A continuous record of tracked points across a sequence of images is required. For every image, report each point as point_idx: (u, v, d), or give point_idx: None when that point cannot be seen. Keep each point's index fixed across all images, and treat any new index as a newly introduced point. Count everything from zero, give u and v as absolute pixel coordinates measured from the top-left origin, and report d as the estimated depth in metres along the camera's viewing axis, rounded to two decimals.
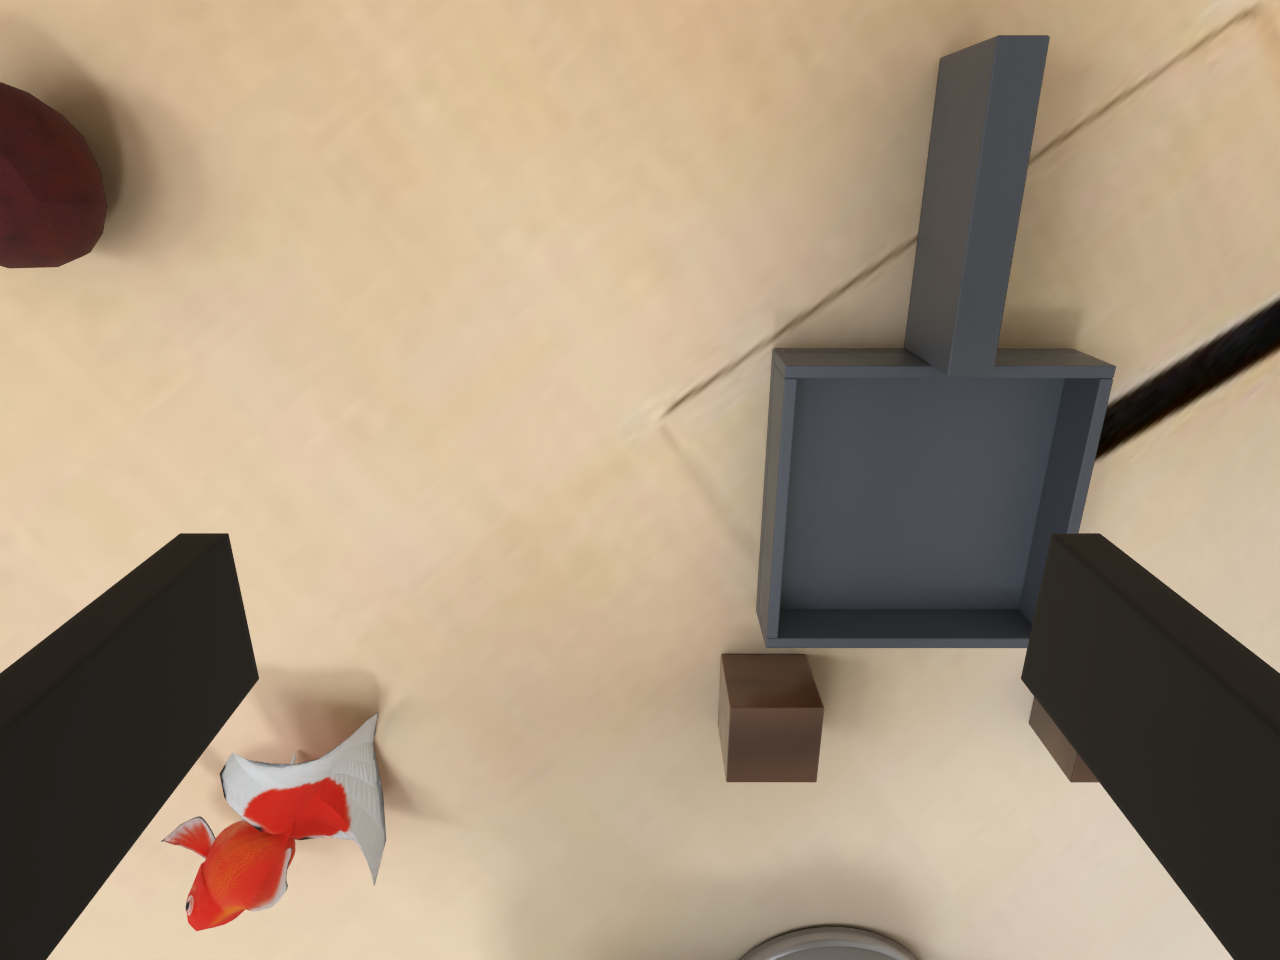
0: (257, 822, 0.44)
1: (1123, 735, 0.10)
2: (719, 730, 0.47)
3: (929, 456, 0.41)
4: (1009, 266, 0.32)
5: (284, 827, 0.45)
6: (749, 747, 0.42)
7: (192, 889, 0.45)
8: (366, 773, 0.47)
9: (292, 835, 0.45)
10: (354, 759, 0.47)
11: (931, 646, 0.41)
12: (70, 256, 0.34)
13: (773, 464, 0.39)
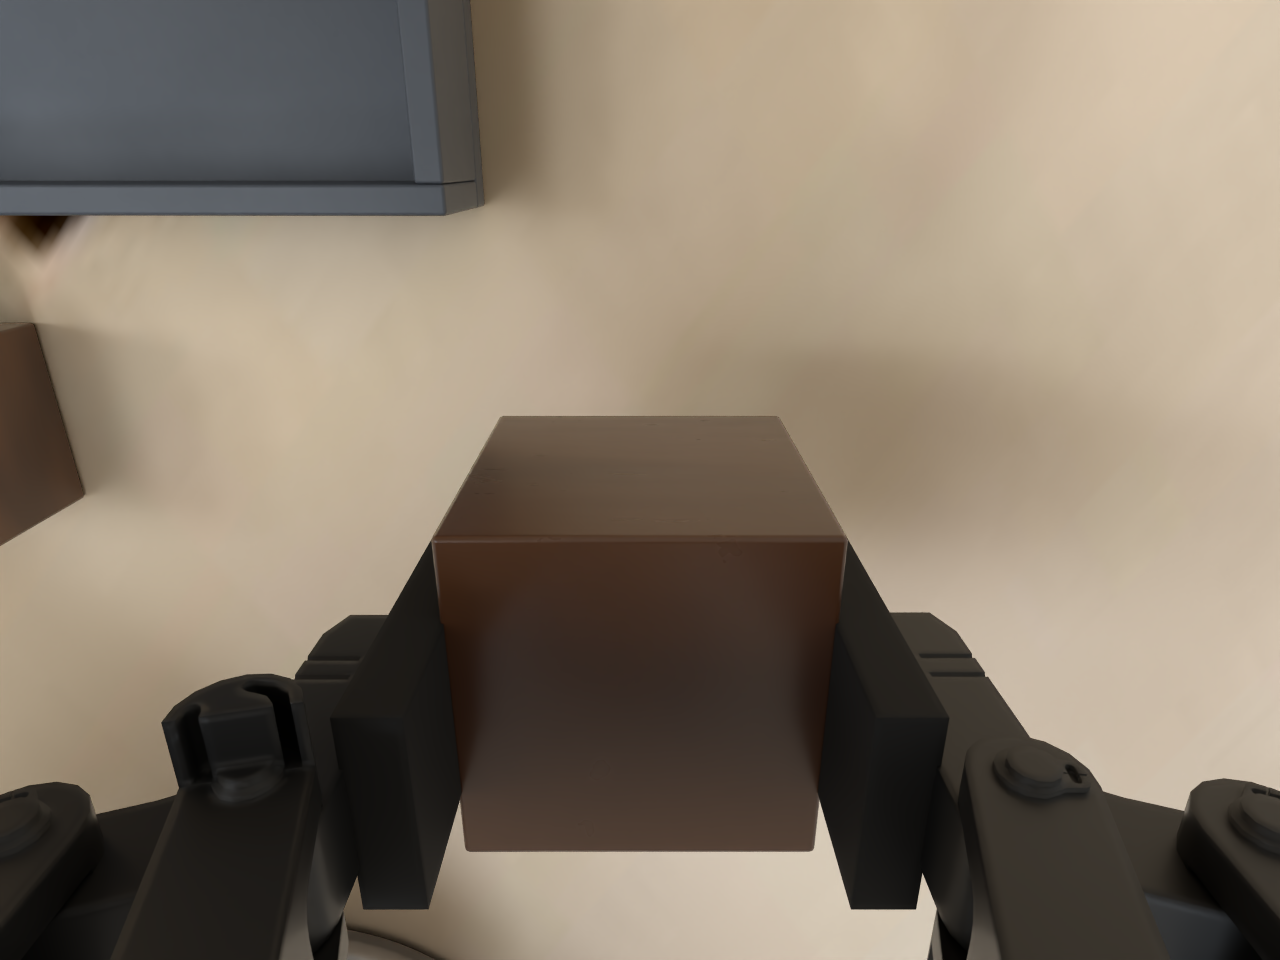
0: None
1: None
2: None
3: None
4: None
5: None
6: None
7: None
8: None
9: None
10: None
11: (128, 209, 0.16)
12: None
13: None
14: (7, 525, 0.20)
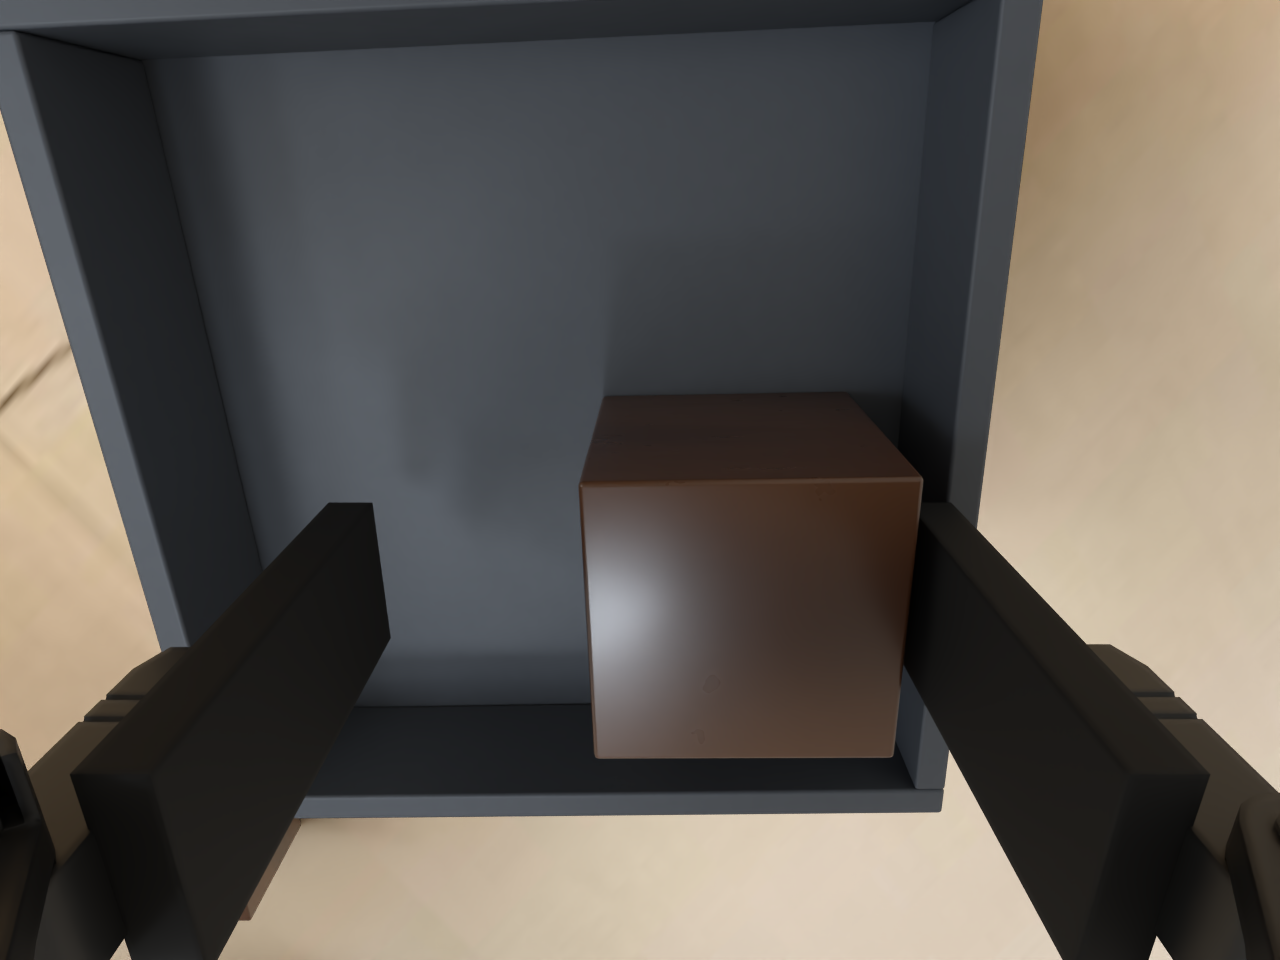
0: None
1: (949, 679, 0.12)
2: None
3: (591, 317, 0.15)
4: None
5: None
6: None
7: None
8: None
9: None
10: None
11: (625, 812, 0.16)
12: None
13: None
14: (273, 867, 0.33)
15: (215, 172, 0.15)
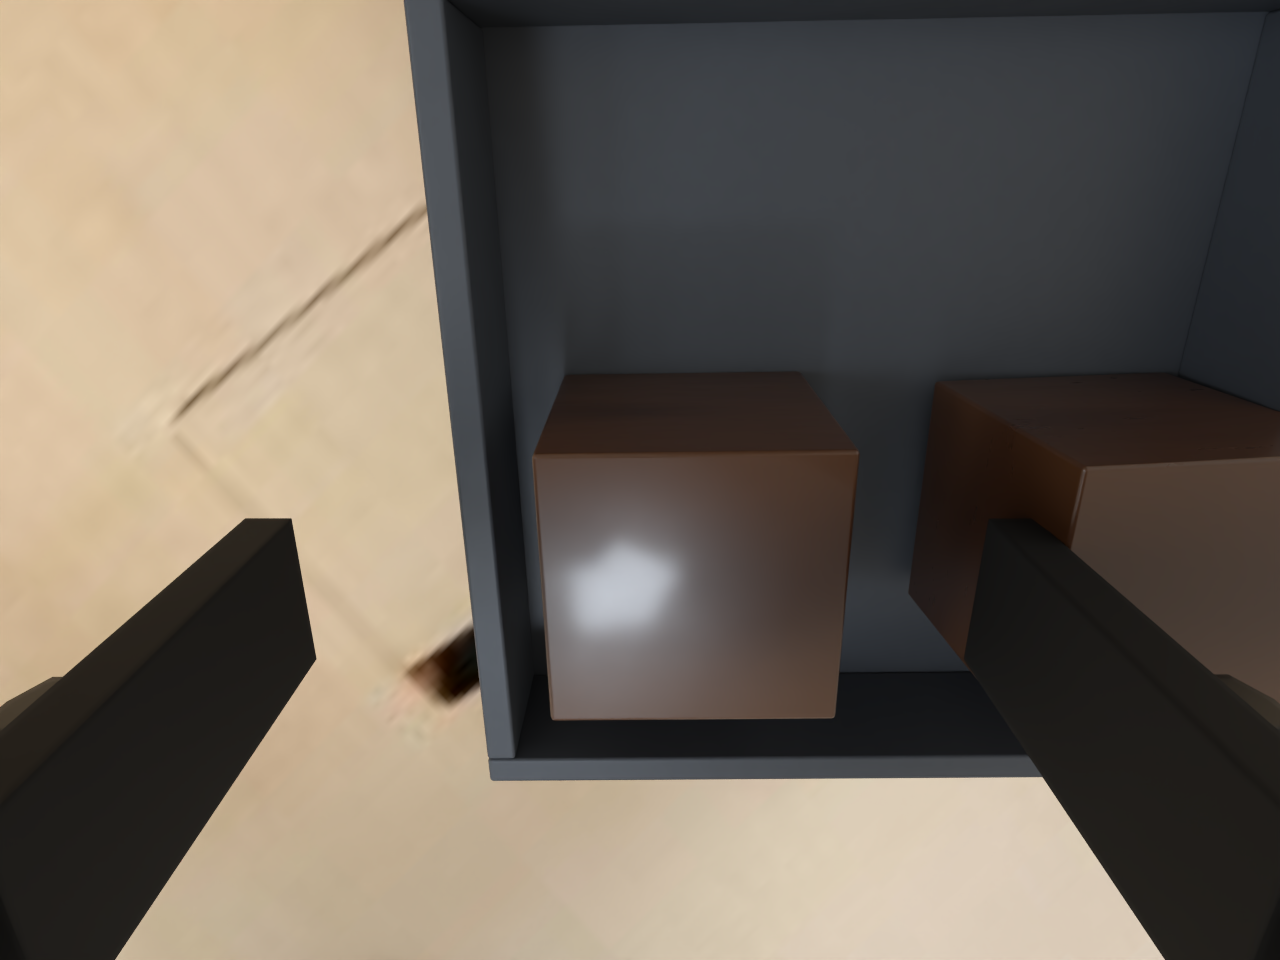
0: None
1: (1046, 708, 0.11)
2: None
3: (887, 294, 0.16)
4: None
5: None
6: (613, 600, 0.13)
7: None
8: None
9: None
10: None
11: (899, 774, 0.17)
12: None
13: None
14: None
15: (537, 142, 0.15)
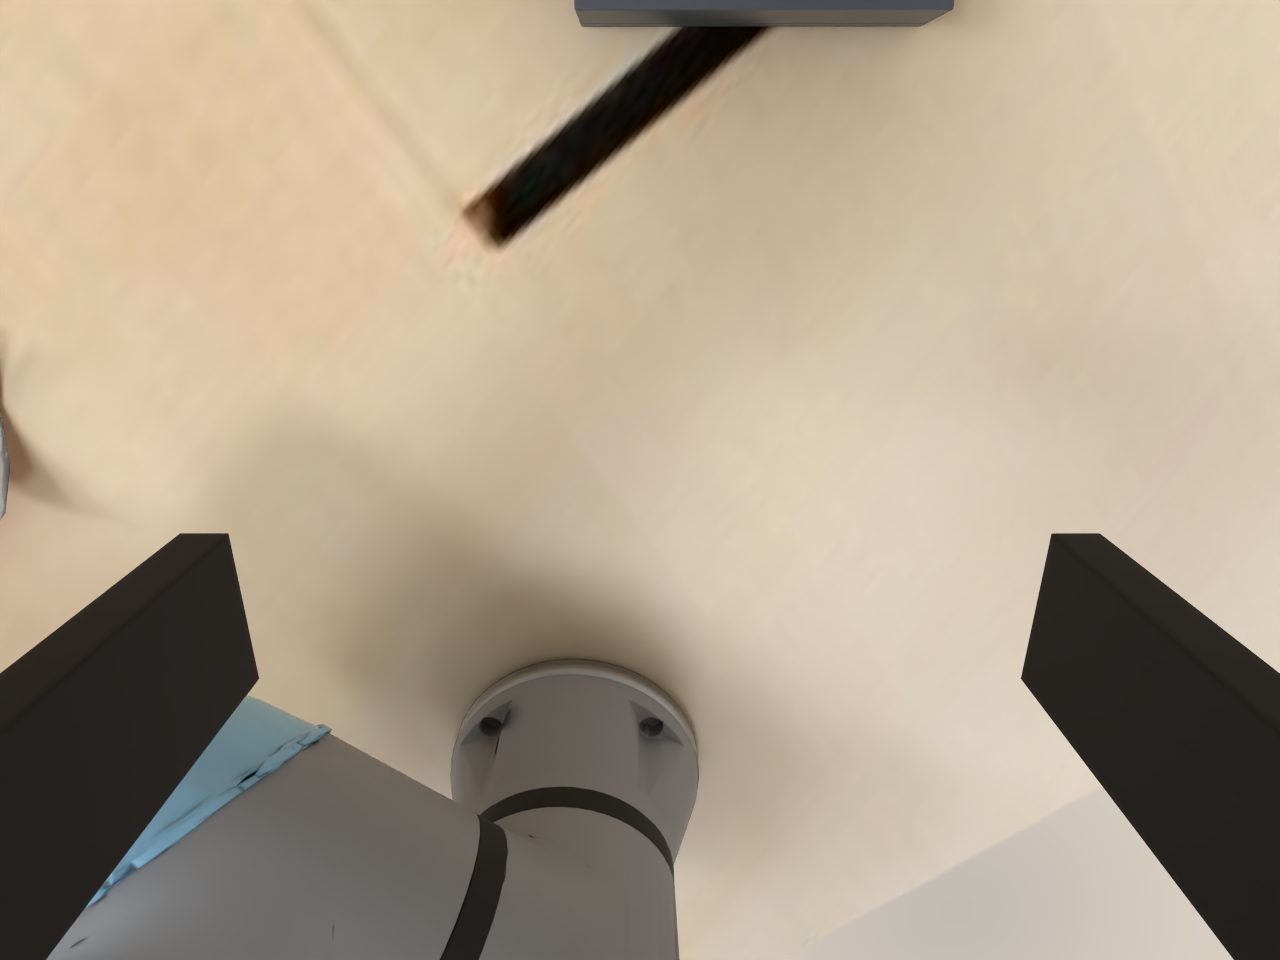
0: None
1: (1123, 735, 0.10)
2: None
3: None
4: None
5: None
6: None
7: None
8: None
9: None
10: None
11: (793, 6, 0.31)
12: None
13: None
14: None
15: None
